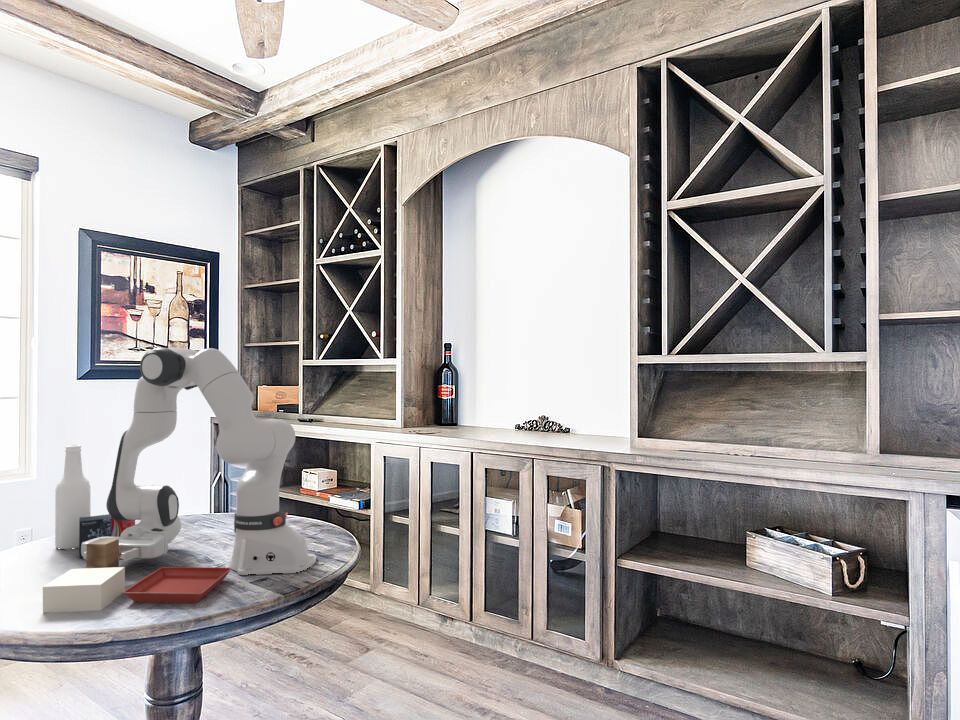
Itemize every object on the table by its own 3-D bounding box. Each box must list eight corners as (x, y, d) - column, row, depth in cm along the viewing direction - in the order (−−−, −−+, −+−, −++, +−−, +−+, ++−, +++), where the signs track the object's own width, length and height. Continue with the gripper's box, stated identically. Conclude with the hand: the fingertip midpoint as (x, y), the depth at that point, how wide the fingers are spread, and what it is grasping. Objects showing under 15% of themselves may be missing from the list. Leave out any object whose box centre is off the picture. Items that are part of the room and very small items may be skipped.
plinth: (124, 592, 152) (124, 567, 152) (100, 611, 140) (100, 584, 140) (71, 594, 151) (71, 568, 151) (42, 614, 139) (42, 586, 139)
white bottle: (60, 543, 192) (61, 444, 192) (93, 540, 195) (94, 443, 195) (50, 551, 184) (51, 448, 184) (85, 549, 186) (85, 446, 186)
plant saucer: (232, 579, 161) (232, 566, 161) (201, 607, 143) (201, 592, 143) (161, 579, 161) (161, 566, 161) (121, 607, 143) (121, 592, 143)
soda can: (110, 537, 198) (110, 499, 198) (135, 535, 201) (135, 497, 201) (107, 543, 192) (107, 504, 192) (134, 541, 195) (134, 501, 195)
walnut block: (118, 578, 161) (118, 538, 161) (105, 585, 156) (105, 544, 156) (100, 577, 162) (100, 538, 162) (86, 584, 157) (86, 543, 157)
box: (79, 559, 177) (79, 521, 177) (78, 554, 181) (78, 517, 181) (111, 554, 181) (111, 517, 181) (110, 549, 186) (110, 513, 186)
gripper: (101, 528, 174) (64, 543, 160) (173, 530, 172) (142, 544, 159) (101, 551, 174) (64, 568, 160) (173, 553, 172) (142, 570, 159)
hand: (103, 556), depth 159 cm, fingers open, 8 cm apart
